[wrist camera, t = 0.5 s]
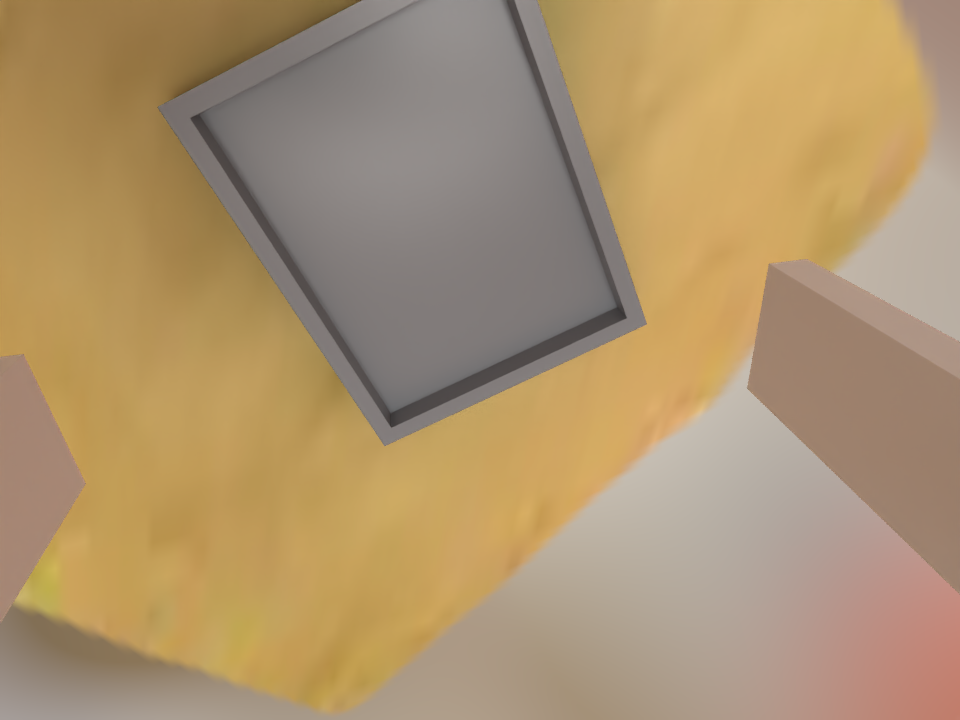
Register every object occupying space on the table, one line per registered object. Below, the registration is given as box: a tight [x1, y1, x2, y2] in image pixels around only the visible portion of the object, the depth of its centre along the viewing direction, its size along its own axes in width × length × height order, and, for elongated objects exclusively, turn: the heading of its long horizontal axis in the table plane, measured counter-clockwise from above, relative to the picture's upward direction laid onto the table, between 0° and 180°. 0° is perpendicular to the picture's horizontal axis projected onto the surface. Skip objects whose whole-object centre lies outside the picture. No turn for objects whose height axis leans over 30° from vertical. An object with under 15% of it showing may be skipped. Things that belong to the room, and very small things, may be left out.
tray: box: [158, 0, 647, 446], centre depth 34 cm, size 22×18×2 cm
